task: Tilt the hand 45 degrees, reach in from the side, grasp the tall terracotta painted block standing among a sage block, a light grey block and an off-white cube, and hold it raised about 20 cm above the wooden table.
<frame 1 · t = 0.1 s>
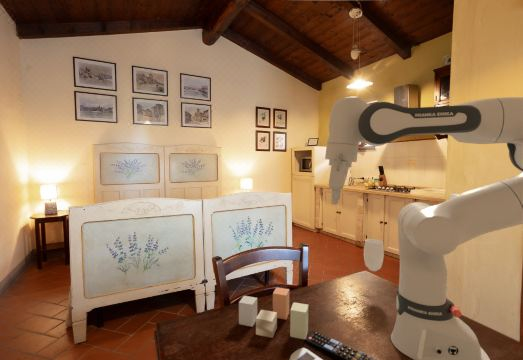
hand: (335, 201, 80), 39 cm above the table, tool pointing down, fingers open, 8 cm apart
light grey block: (248, 321, 86), on the table
cup: (372, 294, 105), on the table
off-white cube: (266, 331, 81), on the table
terracotta block: (281, 314, 90), on the table
sage block: (299, 333, 80), on the table
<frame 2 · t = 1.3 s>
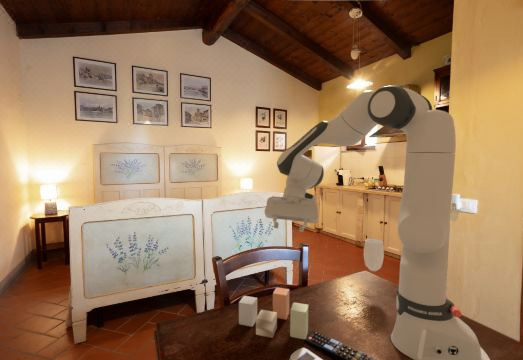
hand: (288, 229, 99), 26 cm above the table, tool tilted 45°, fingers open, 8 cm apart
nothing on the table moved.
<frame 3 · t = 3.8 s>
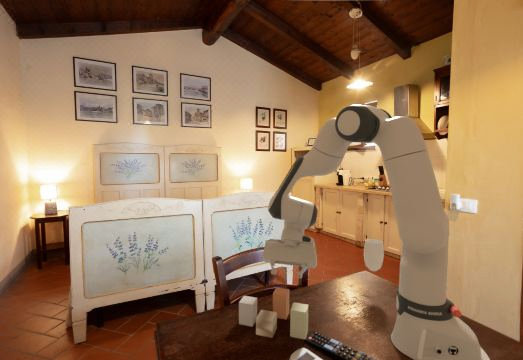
hand: (286, 275, 96), 10 cm above the table, tool tilted 45°, fingers open, 8 cm apart
nothing on the table moved.
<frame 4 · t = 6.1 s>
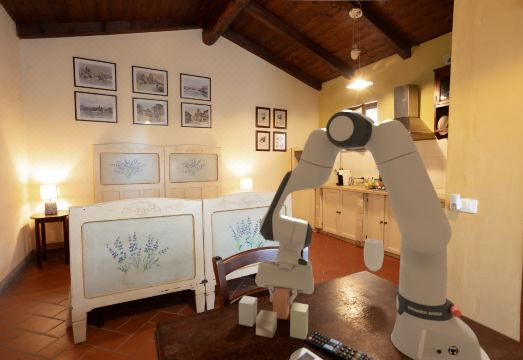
hand: (280, 302, 89), 4 cm above the table, tool tilted 45°, fingers closed on terracotta block, 4 cm apart
terracotta block: (281, 314, 90), on the table, touching gripper
everything else where it was.
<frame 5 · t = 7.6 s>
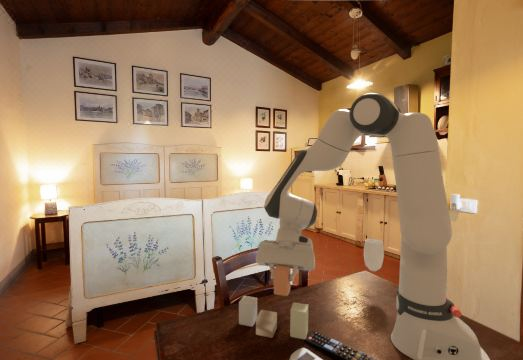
hand: (281, 279, 89), 12 cm above the table, tool tilted 45°, fingers closed on terracotta block, 4 cm apart
terracotta block: (282, 291, 90), point 8 cm above the table, touching gripper
everything else where it was.
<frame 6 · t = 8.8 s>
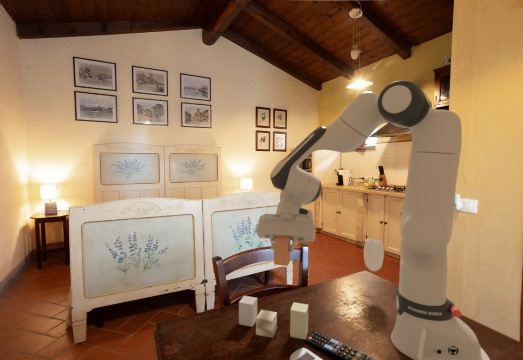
hand: (281, 250, 89), 22 cm above the table, tool tilted 45°, fingers closed on terracotta block, 4 cm apart
terracotta block: (282, 262, 90), point 17 cm above the table, touching gripper
everything else where it was.
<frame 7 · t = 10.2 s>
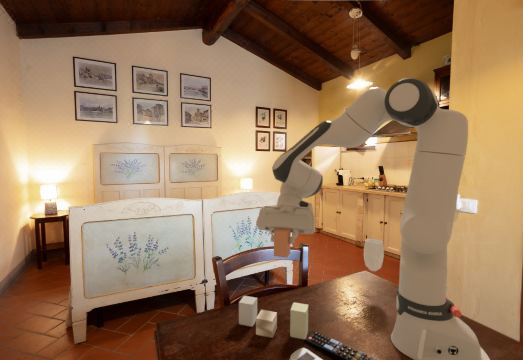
hand: (281, 242, 89), 24 cm above the table, tool tilted 45°, fingers closed on terracotta block, 4 cm apart
terracotta block: (282, 254, 90), point 20 cm above the table, touching gripper
everything else where it was.
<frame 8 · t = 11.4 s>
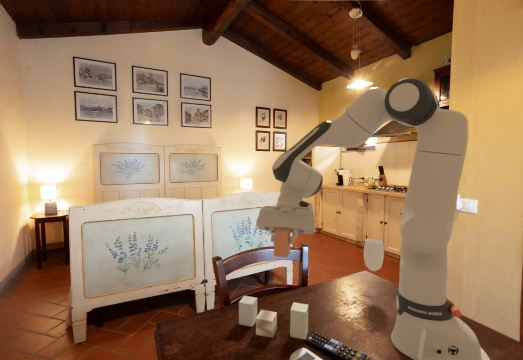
hand: (281, 242, 89), 24 cm above the table, tool tilted 45°, fingers closed on terracotta block, 4 cm apart
terracotta block: (282, 254, 90), point 20 cm above the table, touching gripper
everything else where it was.
at the end: the gripper is holding terracotta block; terracotta block point 19.9 cm above the table; sage block moved 0.1 cm from its start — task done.
